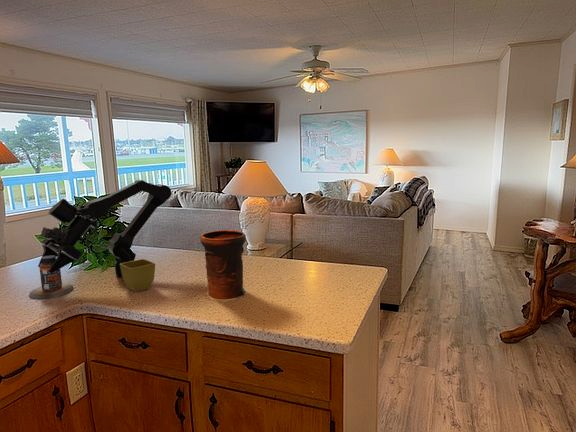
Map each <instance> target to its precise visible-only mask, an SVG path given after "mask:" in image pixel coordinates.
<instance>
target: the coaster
mask: <svg viewBox="0 0 576 432" xmlns="http://www.w3.org/2000/svg"><path fill="white" fill-rule="evenodd" d="M72 291H74V285H73V284H70V283H64V282H62V288H60V289H59V290H56V291H50V292H46V291H43V290H42V286H39V287H36V288H35V289H33V290H31V291H29V292H28V295H29V296H28V297H29V298H31V299H35V300H46V299H52V298H57V297H61V296H65V295H67V294H69V293H71V292H72Z"/></svg>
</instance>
